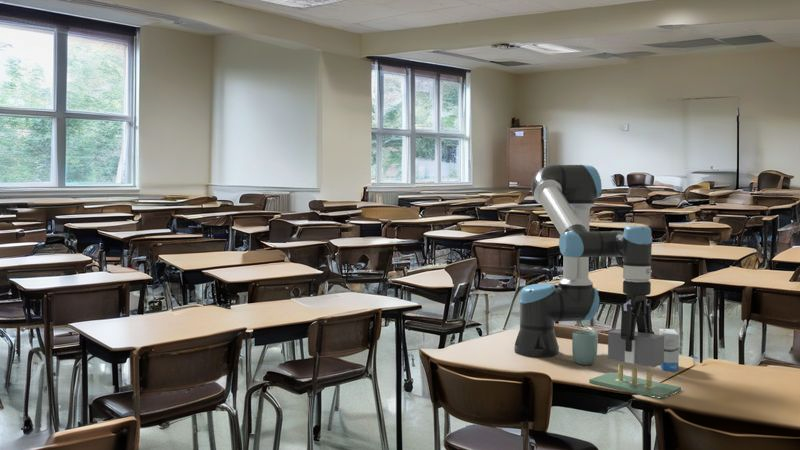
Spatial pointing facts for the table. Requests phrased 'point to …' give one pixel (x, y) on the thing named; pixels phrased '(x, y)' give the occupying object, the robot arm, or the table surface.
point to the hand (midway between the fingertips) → (635, 360)
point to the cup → (584, 347)
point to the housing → (637, 348)
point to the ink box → (670, 349)
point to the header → (635, 383)
